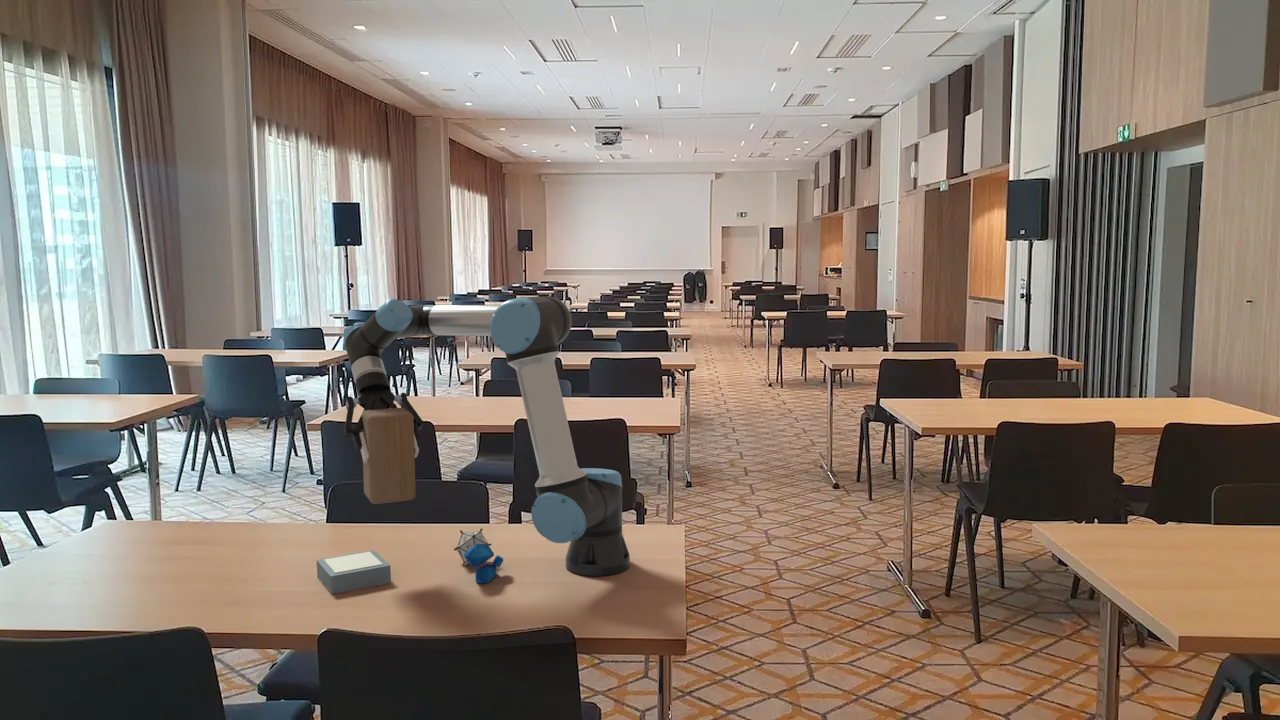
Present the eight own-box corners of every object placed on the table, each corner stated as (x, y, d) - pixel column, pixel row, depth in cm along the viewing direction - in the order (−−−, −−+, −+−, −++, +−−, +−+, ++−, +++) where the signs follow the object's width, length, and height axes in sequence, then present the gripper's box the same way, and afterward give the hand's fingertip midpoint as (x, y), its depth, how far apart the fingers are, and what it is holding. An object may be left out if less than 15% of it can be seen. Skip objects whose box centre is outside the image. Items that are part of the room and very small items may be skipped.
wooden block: (371, 505, 200) (368, 416, 198) (363, 495, 209) (360, 409, 206) (416, 500, 204) (414, 413, 202) (406, 490, 213) (404, 406, 211)
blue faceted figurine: (510, 542, 209) (490, 546, 197) (507, 580, 208) (487, 586, 196) (480, 540, 211) (458, 544, 199) (477, 578, 210) (456, 584, 198)
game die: (477, 580, 214) (480, 555, 208) (446, 565, 215) (448, 540, 209) (495, 552, 221) (499, 527, 214) (464, 538, 222) (467, 513, 215)
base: (390, 582, 202) (390, 564, 202) (331, 594, 195) (330, 575, 195) (374, 566, 213) (373, 549, 213) (317, 576, 206) (316, 559, 206)
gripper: (415, 386, 223) (437, 460, 211) (318, 393, 211) (336, 472, 199) (421, 367, 218) (445, 442, 206) (322, 373, 206) (341, 453, 194)
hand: (391, 456), depth 203 cm, fingers closed on wooden block, 10 cm apart
